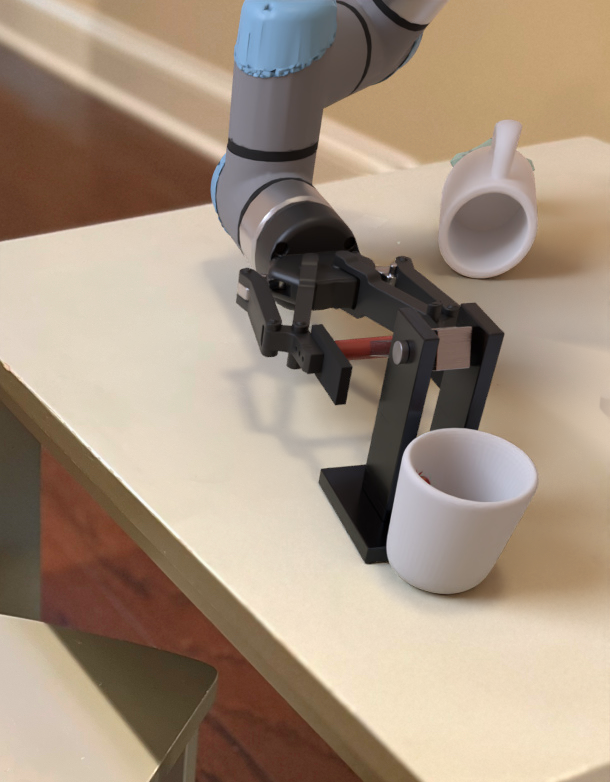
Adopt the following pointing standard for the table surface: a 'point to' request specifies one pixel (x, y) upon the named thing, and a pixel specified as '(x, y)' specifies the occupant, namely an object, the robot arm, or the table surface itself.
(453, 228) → the mug
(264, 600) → the table surface
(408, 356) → the bracket
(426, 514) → the cup
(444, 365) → the lever
